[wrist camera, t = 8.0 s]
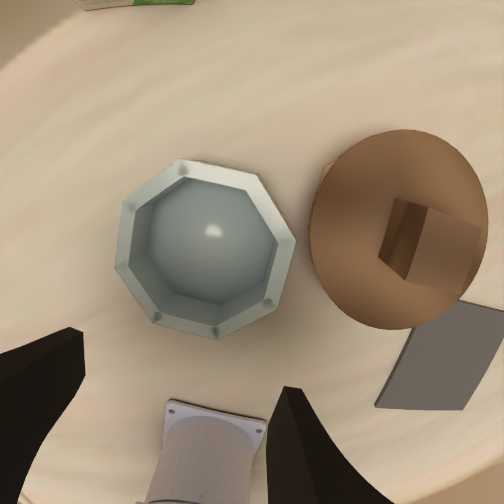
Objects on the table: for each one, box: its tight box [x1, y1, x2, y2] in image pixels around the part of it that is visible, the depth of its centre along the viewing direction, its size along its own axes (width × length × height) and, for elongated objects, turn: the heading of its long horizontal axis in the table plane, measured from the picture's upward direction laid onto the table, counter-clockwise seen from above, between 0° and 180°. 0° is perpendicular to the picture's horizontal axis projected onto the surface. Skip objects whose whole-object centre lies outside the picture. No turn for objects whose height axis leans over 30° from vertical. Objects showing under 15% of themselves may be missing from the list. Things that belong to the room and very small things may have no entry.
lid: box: [309, 130, 488, 330], centre depth 13 cm, size 10×10×4 cm
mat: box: [374, 300, 504, 410], centre depth 21 cm, size 10×10×1 cm
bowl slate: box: [115, 159, 296, 340], centre depth 18 cm, size 9×9×4 cm
